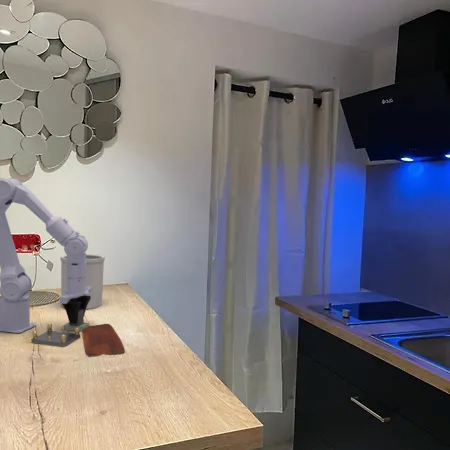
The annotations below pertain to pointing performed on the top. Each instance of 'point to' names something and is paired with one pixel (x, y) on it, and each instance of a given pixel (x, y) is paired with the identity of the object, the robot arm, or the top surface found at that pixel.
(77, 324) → the green grey stepped block
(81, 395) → the top surface
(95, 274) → the utensil holder
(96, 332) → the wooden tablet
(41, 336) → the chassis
